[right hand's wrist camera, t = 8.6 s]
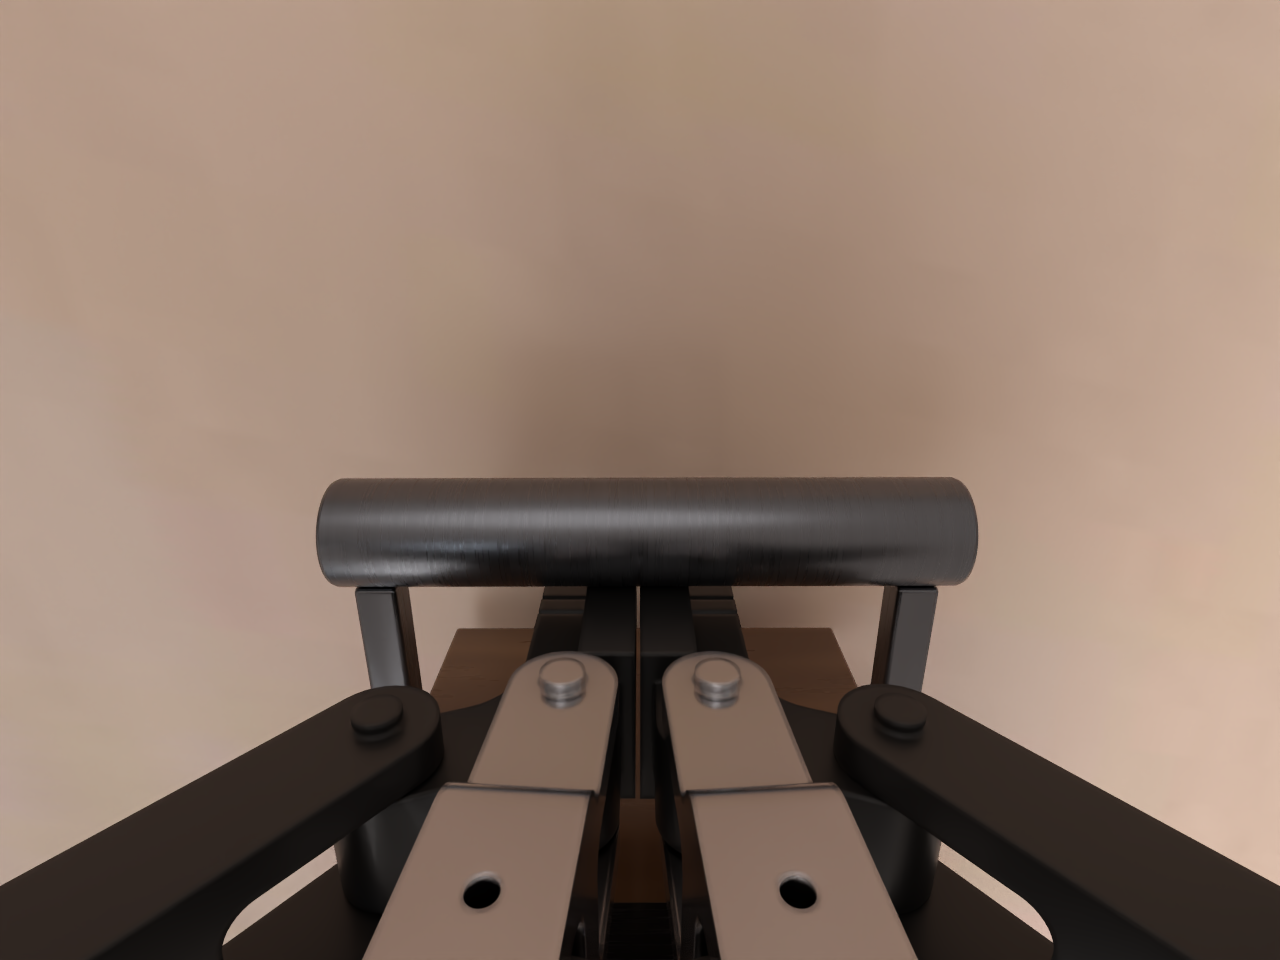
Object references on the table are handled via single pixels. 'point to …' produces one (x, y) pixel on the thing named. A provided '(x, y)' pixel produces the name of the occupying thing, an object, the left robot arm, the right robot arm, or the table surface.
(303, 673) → the table surface
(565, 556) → the drawer
